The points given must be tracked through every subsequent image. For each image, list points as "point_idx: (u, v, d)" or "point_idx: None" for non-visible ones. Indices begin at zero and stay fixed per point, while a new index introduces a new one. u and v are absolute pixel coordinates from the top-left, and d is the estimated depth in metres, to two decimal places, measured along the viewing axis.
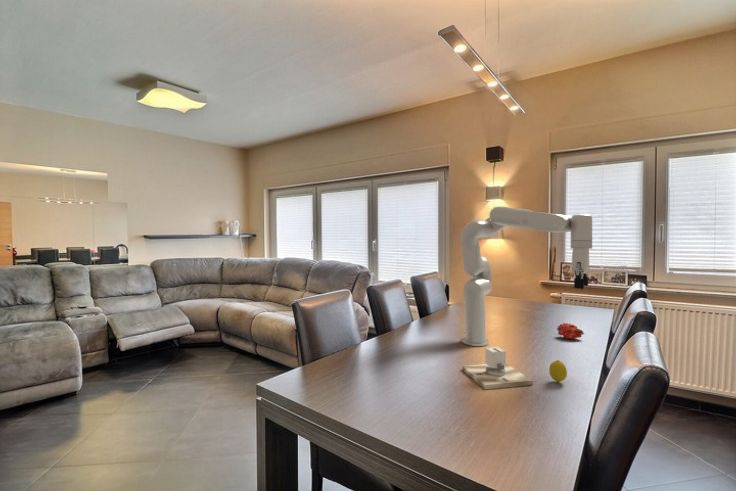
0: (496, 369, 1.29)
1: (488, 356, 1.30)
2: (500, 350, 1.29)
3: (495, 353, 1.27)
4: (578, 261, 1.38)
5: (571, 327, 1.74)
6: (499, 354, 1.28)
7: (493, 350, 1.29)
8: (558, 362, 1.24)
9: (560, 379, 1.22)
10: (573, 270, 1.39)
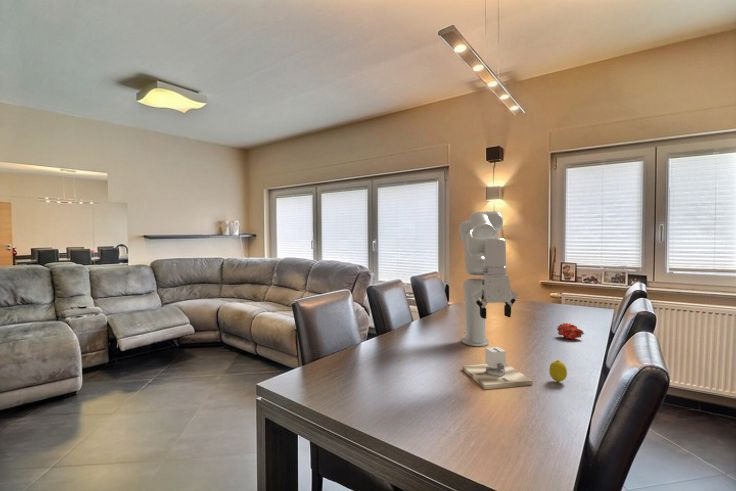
0: (496, 369, 1.29)
1: (488, 356, 1.30)
2: (500, 350, 1.29)
3: (495, 353, 1.27)
4: None
5: (571, 327, 1.74)
6: (499, 354, 1.28)
7: (493, 350, 1.29)
8: (558, 362, 1.24)
9: (560, 379, 1.22)
10: None
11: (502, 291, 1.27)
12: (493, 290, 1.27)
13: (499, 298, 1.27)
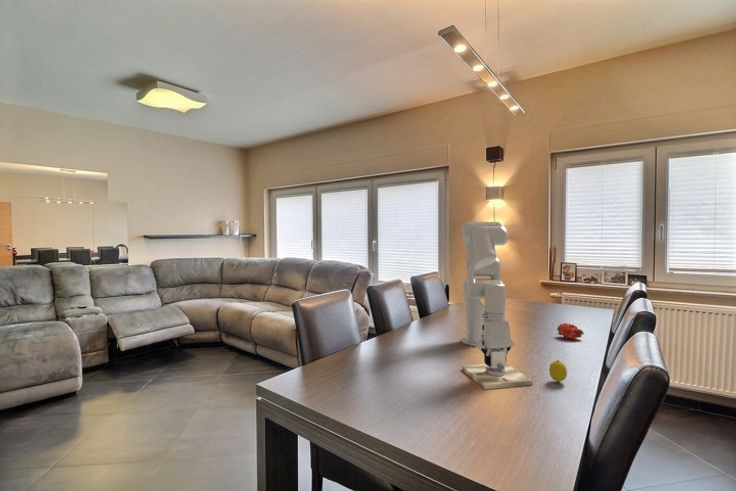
0: (496, 369, 1.29)
1: None
2: (500, 350, 1.29)
3: (495, 353, 1.27)
4: None
5: (571, 327, 1.74)
6: (499, 354, 1.28)
7: (493, 350, 1.29)
8: (558, 362, 1.24)
9: (560, 379, 1.22)
10: None
11: (502, 337, 1.28)
12: (493, 336, 1.27)
13: (499, 344, 1.27)
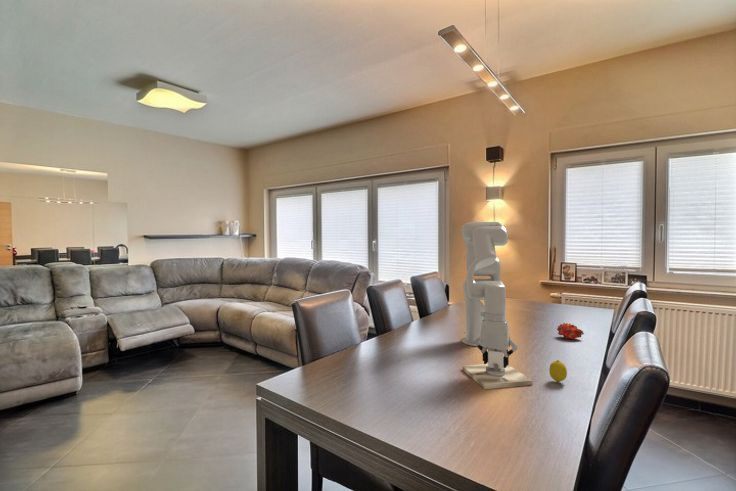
0: (496, 369, 1.29)
1: None
2: (499, 350, 1.28)
3: (491, 352, 1.28)
4: (509, 337, 1.27)
5: (571, 327, 1.74)
6: (496, 354, 1.28)
7: (491, 349, 1.30)
8: (558, 362, 1.24)
9: (560, 379, 1.22)
10: (508, 347, 1.26)
11: (496, 338, 1.27)
12: (486, 335, 1.29)
13: (493, 344, 1.28)
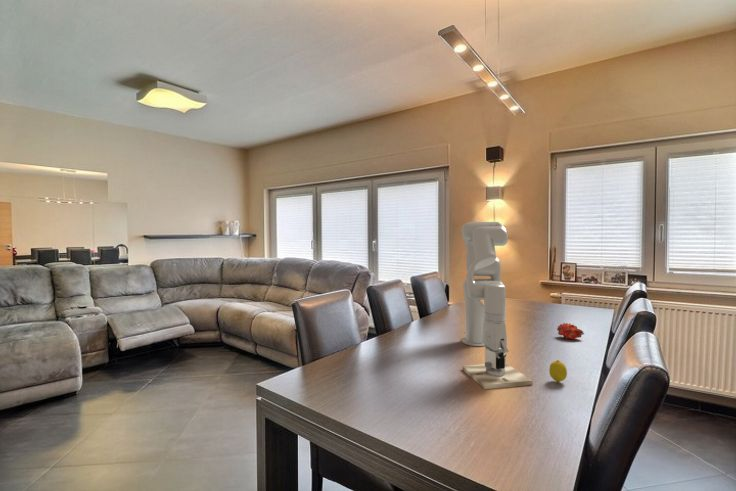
0: (496, 369, 1.29)
1: None
2: (494, 351, 1.28)
3: (487, 350, 1.30)
4: (501, 339, 1.25)
5: (571, 327, 1.74)
6: (490, 353, 1.29)
7: (490, 348, 1.31)
8: (558, 362, 1.24)
9: (560, 379, 1.22)
10: (497, 348, 1.25)
11: (489, 337, 1.28)
12: (484, 333, 1.32)
13: (487, 343, 1.30)
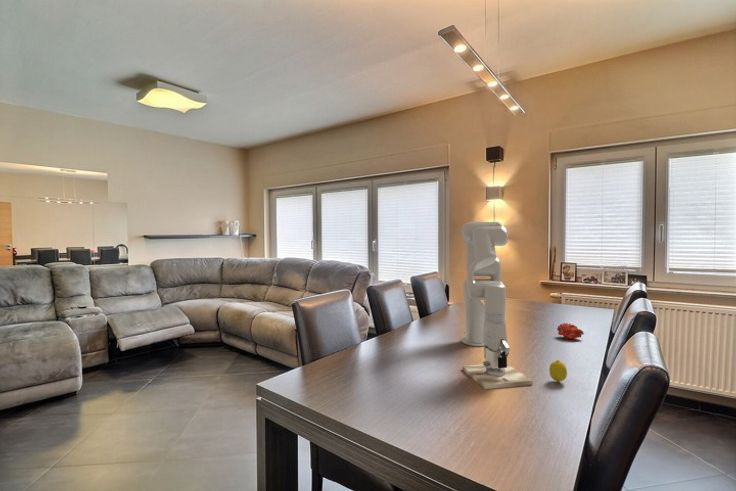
0: (496, 369, 1.29)
1: None
2: (493, 350, 1.29)
3: (486, 350, 1.31)
4: (501, 338, 1.25)
5: (571, 327, 1.74)
6: (489, 353, 1.30)
7: None
8: (558, 362, 1.24)
9: (560, 379, 1.22)
10: (497, 348, 1.25)
11: (489, 337, 1.29)
12: (485, 333, 1.32)
13: (488, 343, 1.30)
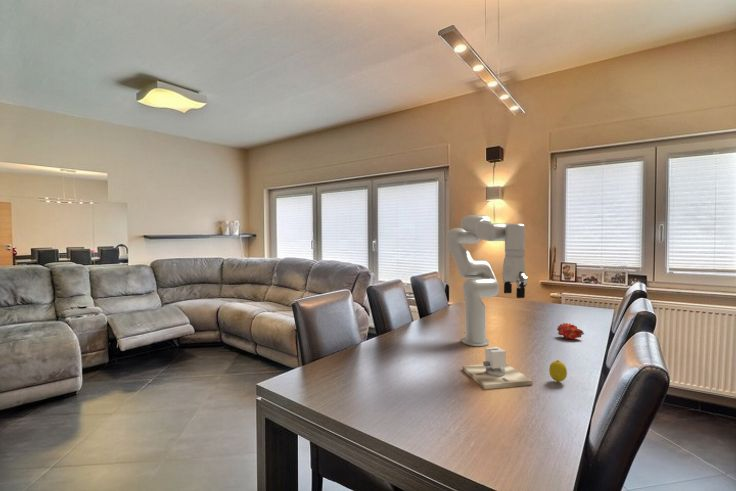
0: (496, 369, 1.29)
1: None
2: (493, 350, 1.29)
3: (486, 350, 1.31)
4: (520, 271, 1.38)
5: (571, 327, 1.74)
6: (489, 352, 1.30)
7: (491, 348, 1.31)
8: (558, 362, 1.24)
9: (560, 379, 1.22)
10: (516, 280, 1.38)
11: (509, 271, 1.42)
12: (505, 269, 1.45)
13: (507, 277, 1.43)
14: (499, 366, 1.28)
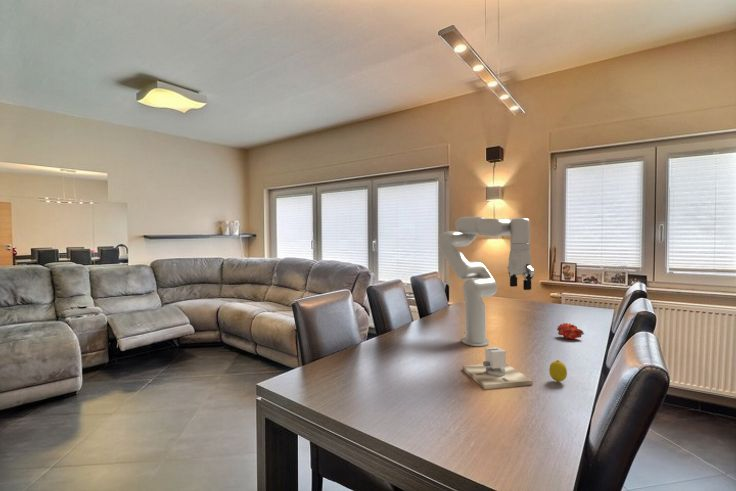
0: (496, 369, 1.29)
1: None
2: (493, 350, 1.29)
3: (486, 350, 1.31)
4: (526, 263, 1.43)
5: (571, 327, 1.74)
6: (489, 352, 1.30)
7: (491, 348, 1.31)
8: (558, 362, 1.24)
9: (560, 379, 1.22)
10: (523, 272, 1.42)
11: (515, 264, 1.46)
12: (511, 263, 1.49)
13: (514, 270, 1.47)
14: (499, 366, 1.28)
